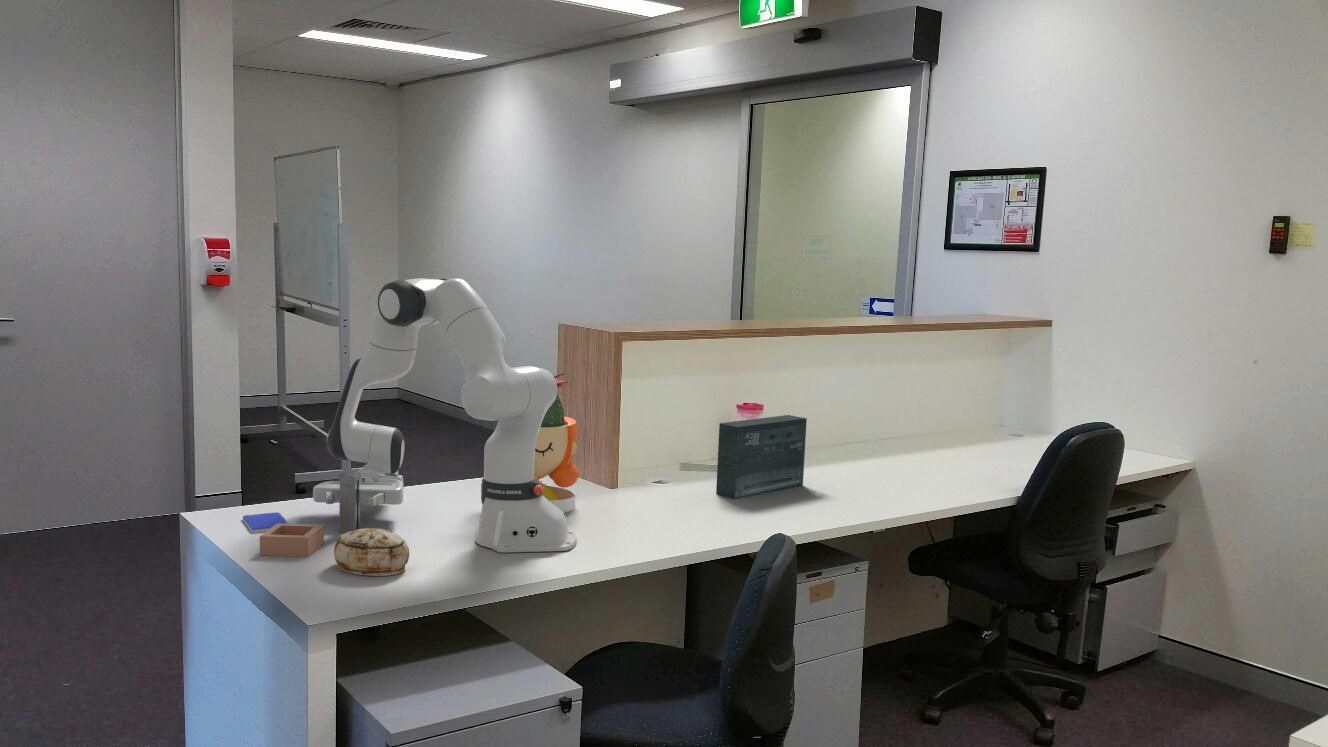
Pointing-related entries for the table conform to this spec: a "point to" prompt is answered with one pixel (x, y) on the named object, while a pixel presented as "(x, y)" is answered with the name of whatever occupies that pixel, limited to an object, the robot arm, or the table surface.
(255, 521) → the hard drive
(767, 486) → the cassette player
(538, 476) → the potted cactus
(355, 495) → the grey chimney stack
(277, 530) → the holder
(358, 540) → the trinket box
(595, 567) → the table surface
